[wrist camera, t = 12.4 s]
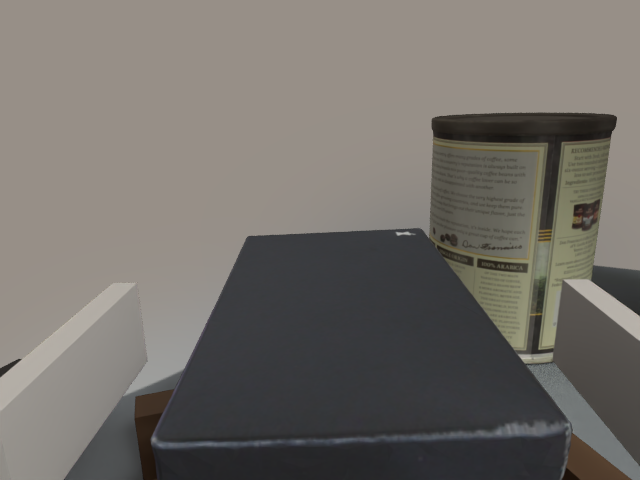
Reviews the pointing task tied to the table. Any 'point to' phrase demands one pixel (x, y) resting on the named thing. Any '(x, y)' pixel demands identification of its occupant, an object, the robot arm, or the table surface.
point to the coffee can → (519, 212)
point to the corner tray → (580, 475)
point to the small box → (355, 373)
